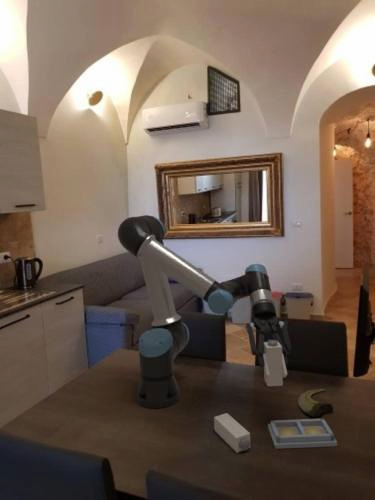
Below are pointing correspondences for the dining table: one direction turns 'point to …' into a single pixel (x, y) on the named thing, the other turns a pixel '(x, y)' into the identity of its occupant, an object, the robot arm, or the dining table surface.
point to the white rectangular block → (232, 432)
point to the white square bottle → (274, 363)
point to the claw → (314, 404)
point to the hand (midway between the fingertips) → (276, 376)
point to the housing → (301, 433)
